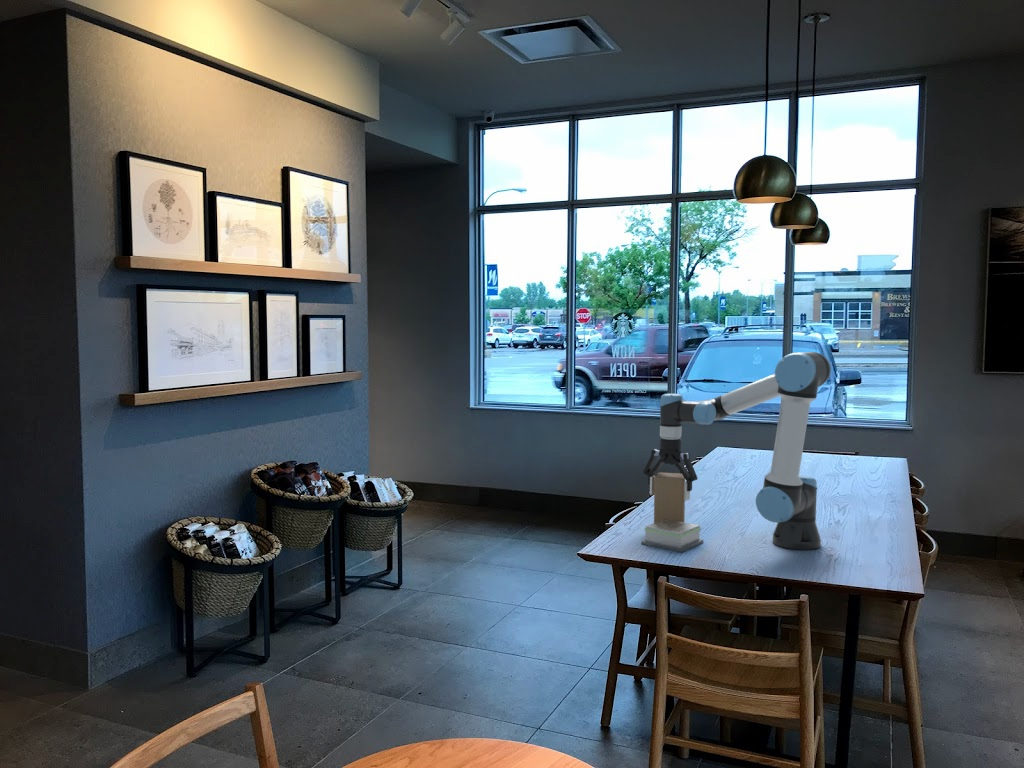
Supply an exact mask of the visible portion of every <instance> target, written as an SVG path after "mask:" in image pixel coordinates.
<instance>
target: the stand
mask: <svg viewBox="0 0 1024 768" xmlns="http://www.w3.org/2000/svg"><path fill="white" fill-rule="evenodd" d="M700 531H701V526H700V524H694V523H690V522H685V521H684V522H679V521H673V520H668V519H664V520H661V521H659V522H656V523H654V522H653V523H651V524H648V525H646V526H645V528H644V532H645V539H644V540H641V542H640V544H641V545H645V546H649V547H654V548H659V549H663V550H668V551H673V552H678V553H684V552H686V551H687V550H690V549H693V548H695V547H697V546H699V545H702V544H703V543H704V539H701V538H700Z"/></svg>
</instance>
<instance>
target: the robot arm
mask: <svg viewBox="0 0 1024 768" xmlns="http://www.w3.org/2000/svg"><path fill="white" fill-rule="evenodd" d="M831 369H832V368H831V364H830V361H829V360H828V359H827V357H826V356H824V355H823V354H821V353H819V352H816V351H807V352H806V351H804V352H802V351H801V352H792V353H789V354H786V355H785V356H783V357H782V358H781V359H780V360H779V361H778V362H777V363H776V366H775V369H774V374H771V375H768V376H766V377H763V378H761V379H758V380H756V381H754V382H751V383H749V384H747V385H744V386H741V387H739V388H736V389H734V390H732V391H729V392H727V393H724V394H722V395H719V396H716V397H714V398H711V399H705V400H698V401H693V400H692V401H691V400H690V401H689V400H684V399H683V395H682V394H679V393H664V394H662V395H661V396H660V404H659V405H660V406H659V408H660V411H659V412H660V417H659V418H660V421H659V437H660V438H659V450H658V449H657V448H654V449H652V450H651V454H650V457H649V459H648V461H647V463H646V465H645V468H644V470H643V472H642V473H643V474H644V475H646V476H647V477H648V478H647V483H648V486H649V495H650V496H653V495H654V480H655V477H656V475H655V474H657V473H658V471H659V470H660V468H661V467H662V466H663V465H664V464H666V465H668V464H669V465H672V466H673V465H674V466H675V467H676V468H677V469H678V470H679V472H680V474H682V475H683V477H684V478H685V482H684V501H685V502H686V501H690V499H691V497H690V496H691V491H692V490H693V482H694V481H697V480H698V479H699V477H698V475H697V473H696V471H695V468H694V465H693V463H692V460H691V455H690V453H689V452H686V453H683V452H682V438H681V437H682V432H683V431H682V430H683V428H682V427H683V423H689V424H695V425H697V424H698V425H702V426H703V425H711V424H713V422H714V421H721V420H723V419H725V418H727V417H728V416H731V415H733V414H735V413H738V412H742V411H744V410H747V409H750V408H752V407H755V406H757V405H760V404H762V403H765V402H768V401H770V400H773V399H776V398H778V397H780V399H781V400H780V401H781V402H780V407H779V414H778V421H777V427H776V434H775V440H774V447H773V453H772V454H773V455H772V459H771V460H772V461H771V468H770V470H769V471H770V472H768V473H767V474H765V475H764V480H763V486H762V488H761V489H760V490H759V491H758V492H757V495H756V497H755V506H756V509H757V511H758V512H759V514H760V516H762V517H763V518H764V519H765V520H766V521H768V522H771V523H776V526H775V529H774V531H773V533H772V534H773V535H772V543H773V544H774V545H776V546H778V547H781V548H785V549H790V550H798V551H799V550H802V551H805V550H808V551H810V550H816V549H819V548H821V541H822V539H821V536H820V533H819V530H818V527H817V523H816V520H817V516H816V515H817V493H818V492H817V491H818V486H817V479H815V478H814V477H811V476H806V475H800V471H801V464H802V463H801V462H802V459H803V452H804V451H803V450H804V445H805V438H806V433H807V432H806V431H807V425H808V420H809V413H810V407H811V403H812V402H814V401H815V400H817V396H818V390H819V387H821V386H823V385H824V384H826V382H827V381H828V380H829V379H830V376H831V372H832V370H831ZM658 456H660V458H659V460H657V458H658ZM681 459H682V460H683V461H682V460H681ZM656 460H657V463H656ZM654 464H655V465H654Z"/></svg>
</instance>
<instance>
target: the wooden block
mask: <svg viewBox="0 0 1024 768" xmlns="http://www.w3.org/2000/svg"><path fill="white" fill-rule="evenodd" d="M655 476H656V477H655V480H654V496H653V497H654V502H653V523H656V522H659V521H661V520H664V519H668V520H673V521H679V522H685V519H686V518H685V515H686V514H685V513H686V511H685V509H686V507H685V506H686V501H684V482H686V479H685V478H684V477H683V475H682V474H681V472H680V473H679V472H677V473H676V472H656V475H655Z"/></svg>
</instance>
